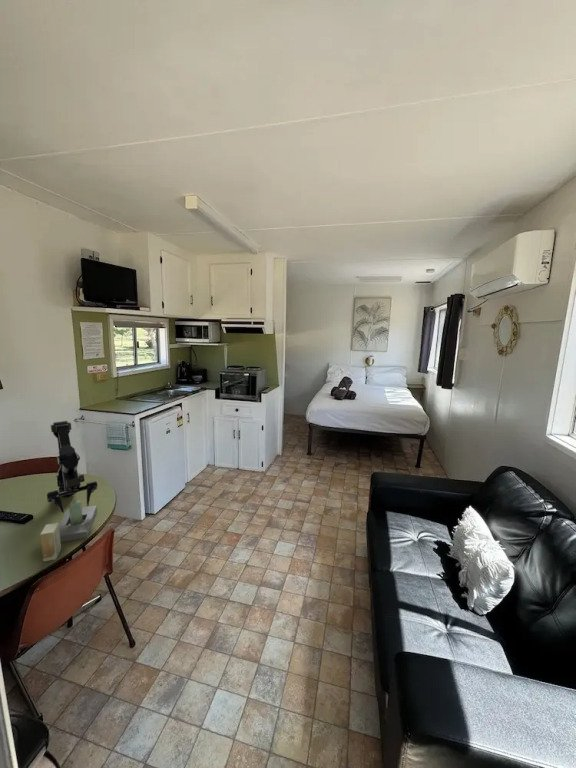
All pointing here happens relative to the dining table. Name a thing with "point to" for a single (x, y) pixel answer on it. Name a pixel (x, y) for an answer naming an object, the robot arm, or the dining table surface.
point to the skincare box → (50, 542)
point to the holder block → (77, 525)
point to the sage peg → (75, 512)
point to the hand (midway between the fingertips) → (75, 509)
